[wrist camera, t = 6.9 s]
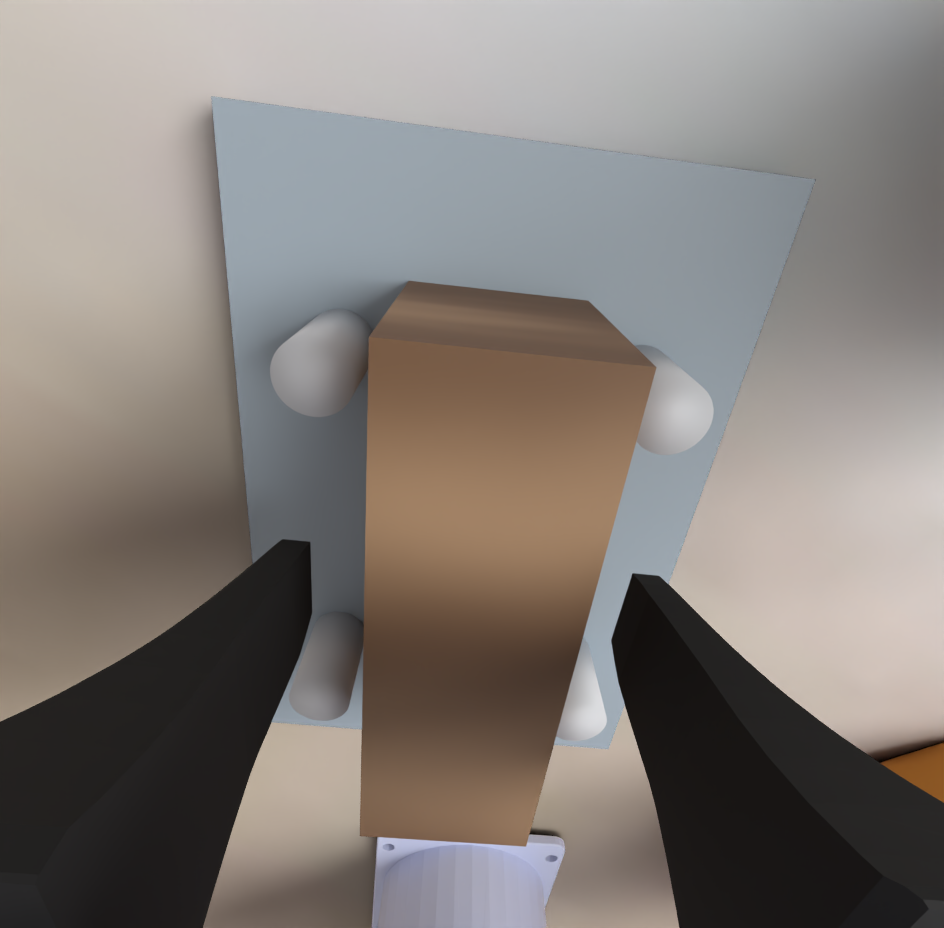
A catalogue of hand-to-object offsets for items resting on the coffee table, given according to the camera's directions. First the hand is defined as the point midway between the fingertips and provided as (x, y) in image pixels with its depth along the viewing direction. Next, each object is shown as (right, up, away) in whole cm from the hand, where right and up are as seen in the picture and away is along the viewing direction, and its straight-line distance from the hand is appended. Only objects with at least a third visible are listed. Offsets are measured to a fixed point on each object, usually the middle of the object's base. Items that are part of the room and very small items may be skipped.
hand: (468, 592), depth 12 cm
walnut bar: (0, +1, +3) cm, 3 cm away
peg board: (0, +2, +3) cm, 4 cm away
